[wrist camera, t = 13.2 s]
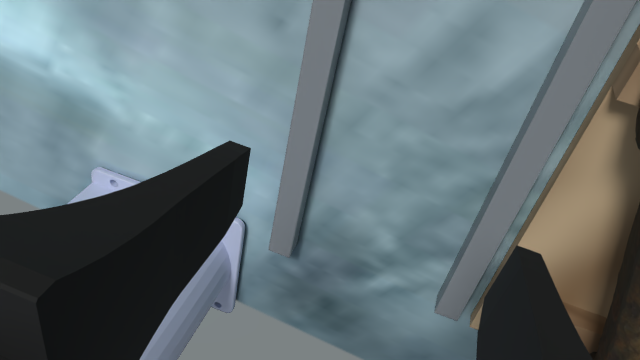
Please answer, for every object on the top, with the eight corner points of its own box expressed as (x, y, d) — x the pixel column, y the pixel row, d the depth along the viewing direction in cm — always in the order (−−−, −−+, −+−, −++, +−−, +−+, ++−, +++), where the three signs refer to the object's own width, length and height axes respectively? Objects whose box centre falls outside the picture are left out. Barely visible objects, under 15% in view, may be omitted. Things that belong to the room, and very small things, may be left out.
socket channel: (276, 235, 29) (268, 250, 28) (342, -117, 19) (332, -113, 18) (459, 303, 28) (456, 320, 27) (645, -36, 17) (651, -27, 16)
